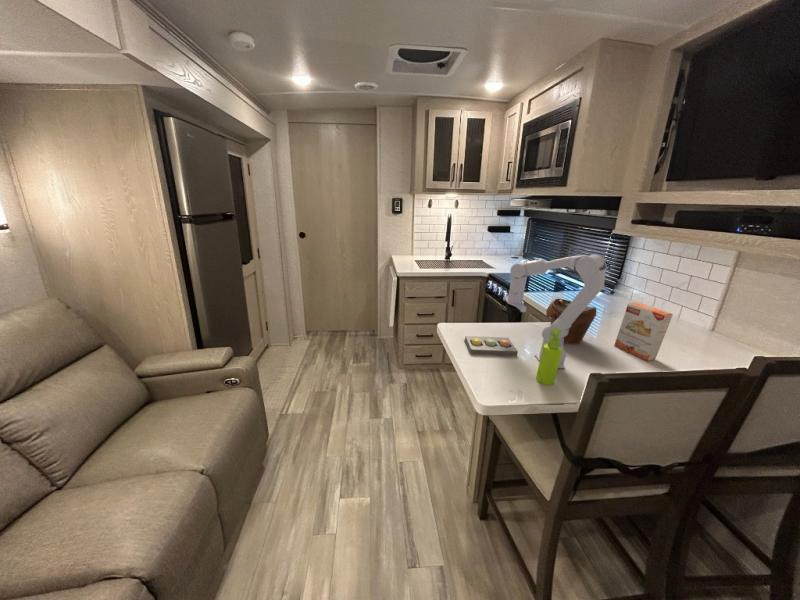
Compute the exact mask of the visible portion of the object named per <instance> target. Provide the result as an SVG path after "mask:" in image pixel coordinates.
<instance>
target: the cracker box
mask: <svg viewBox="0 0 800 600" xmlns="http://www.w3.org/2000/svg"><path fill="white" fill-rule="evenodd" d="M672 318H673V313H671V312H668V311H665V310H662V309H658V308H656V307H653V306H650V305H647V304H643V303H641V302H637V301H633V302H629V303H627V306H626V308H625V312H624V315H623V318H622V320H621V324H620V327H619V329H618V333H617V336H616V338H615V343H614V345H613V346H614V347H616V348H619V349H620V350H622V351H625V352H627V353H629V354H631V355H633V356H636V357H637V358H639V359H642V360H644V361H646V362H649V361H653V360H656V358H657V356H658V353H659V351H660V348H661V345H662V343H663V341H664V339H665V336H666V333H667V331H668V328H669V326H670V324H671V321H672Z"/></svg>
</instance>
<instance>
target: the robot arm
mask: <svg viewBox="0 0 800 600" xmlns="http://www.w3.org/2000/svg"><path fill="white" fill-rule="evenodd" d="M562 268H569V269H571V270H572V271H576V272H577V273H578V275H579V276H580V278H581V279H582V281H583V284H584V286H583V287H582V288H581V289H580V291H579V292H578V293H577V295H576V296H575V297H574V298H573V299H572V301H571V303H570V304H569V305H568V307H567V308H566V309H565V310H564V312H563V313H562V314H561V315H560V316H559V318H558V319H557V320H556V321H554V322H553V323H552V324H551V323H550V325H549V326H547V327H545V328H544V329H542V332H541V337H542V342H541V346H540V351H539V353H536V354H535V353H534V356H535V358H537V360H538V361H539V362H540V359H541V354H542V350H543V346H544V345H545V344H548V343H549V338H550V337H551V336H553V335H552V334H550V332H551V331H552V330H553V329H555V328H558V329H561V330H562V331H561V332H560V333H559V337H558V338H560V340H561V341H560V345H559V347H560V348H562V354H561V358H560V362H559V365H558V369H566V366H565V361H566V358H567V351H566V350H565V348H564V343H565V342H564V337H566V336H567V335H568V332H569V328H570V327H571V326H572V323H573V322H574V321H575V320H576V318H577V317H578V316H579V315H580V314H581V313H582V312H583V310H584V309H585V308H586V307H587V306H589V305H590V303H592V301H593V300H594V299H595V298H596V297H597V296H598V294H599V293H600V292H601V291H602V290H603V288H604V286H605V279H606V272H607V269H608V264H607V263H606V260H605V258H604V257H603V256H602V255H600V254H599V253H598V254H597V253H594V254H591V255H588V254H579V255H573V256H568V257H562V258H557V259H553V260H549V261H548V260H546V259H544V258H540V257H537V258H535V259H533V260H530V261H528V260H524V261H523V262H519V263H518V262H517V263H514V264H513V265H512V266H511V267H510V271H509V272H510V274H511V279H510V285H509V290H508V295H504V296H503V301H506V303H507V304H505V305H504V306H505V309H506V314H507V321H508V322H509V323H515V320H516V318H517V316H518V315H519V314H520V313H526V312H527V306H525V302H524V293H525V289H526V284H527V278H528V277H532V276H537V275H544V274H546V273H547V272H548V271H549V270H555V269H562Z"/></svg>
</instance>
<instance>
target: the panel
mask: <svg viewBox="0 0 800 600" xmlns="http://www.w3.org/2000/svg"><path fill="white" fill-rule="evenodd" d="M473 338H478V339H481V340H482V342H481V346H478V345H472V344H471V343H472V339H473ZM486 339H493V340H495V341H496V344H495V346H486ZM501 339H505V340H508V341H510V345H509V347H501V346H500V345H499V344H500V340H501ZM464 342H465V344H466V345H467V348H468V351H469V354H471V355H489V356H490V355H493V356H516V357H517V356H518V353H519V350H518V349H517V348H516V347H515V345H514V344H513V342H512V341H511V339H510V338H509V337H497V336H494V337H493V336H473V335H465V337H464Z"/></svg>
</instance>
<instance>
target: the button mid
mask: <svg viewBox="0 0 800 600" xmlns="http://www.w3.org/2000/svg"><path fill="white" fill-rule="evenodd" d="M495 344H496V341H495V340H493V339H486V346H495Z"/></svg>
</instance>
